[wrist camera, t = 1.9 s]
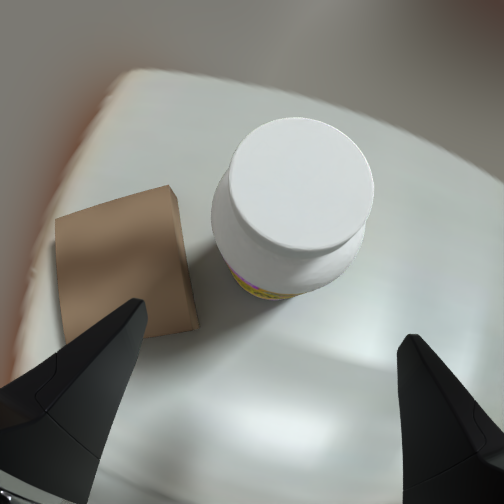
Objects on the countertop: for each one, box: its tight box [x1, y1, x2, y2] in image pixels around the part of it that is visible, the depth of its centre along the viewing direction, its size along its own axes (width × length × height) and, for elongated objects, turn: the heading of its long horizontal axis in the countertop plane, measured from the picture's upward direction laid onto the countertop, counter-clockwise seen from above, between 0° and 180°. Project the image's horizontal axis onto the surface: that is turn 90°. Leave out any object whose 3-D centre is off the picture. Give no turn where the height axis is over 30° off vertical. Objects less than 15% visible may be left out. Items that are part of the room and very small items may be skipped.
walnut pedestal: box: [55, 185, 200, 345], centre depth 20 cm, size 10×10×2 cm
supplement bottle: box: [211, 117, 374, 300], centre depth 15 cm, size 7×7×13 cm
